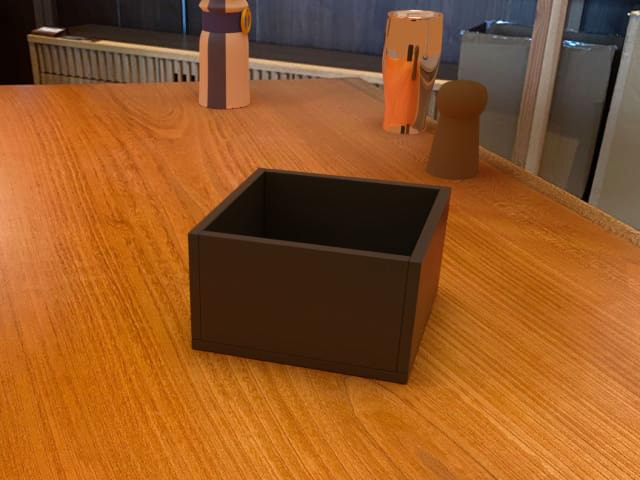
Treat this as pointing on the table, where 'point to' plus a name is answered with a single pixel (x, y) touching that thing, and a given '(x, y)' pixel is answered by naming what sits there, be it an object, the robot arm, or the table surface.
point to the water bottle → (224, 54)
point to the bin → (319, 271)
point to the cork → (457, 130)
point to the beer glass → (410, 68)
